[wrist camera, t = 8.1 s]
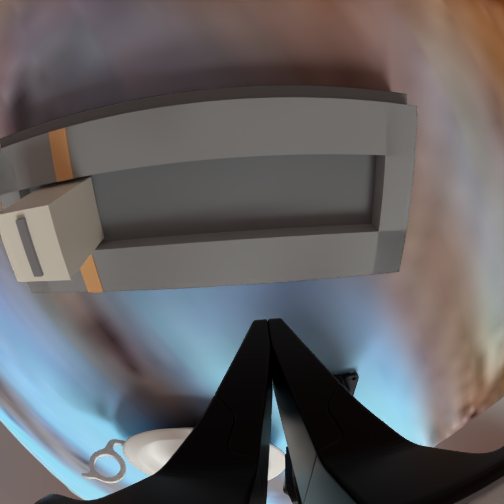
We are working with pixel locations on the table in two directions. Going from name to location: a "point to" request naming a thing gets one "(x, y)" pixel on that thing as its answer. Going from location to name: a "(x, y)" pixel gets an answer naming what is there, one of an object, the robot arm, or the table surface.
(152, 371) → the table surface
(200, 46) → the table surface
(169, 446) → the candlestick
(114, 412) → the table surface
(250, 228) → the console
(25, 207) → the fader knob
